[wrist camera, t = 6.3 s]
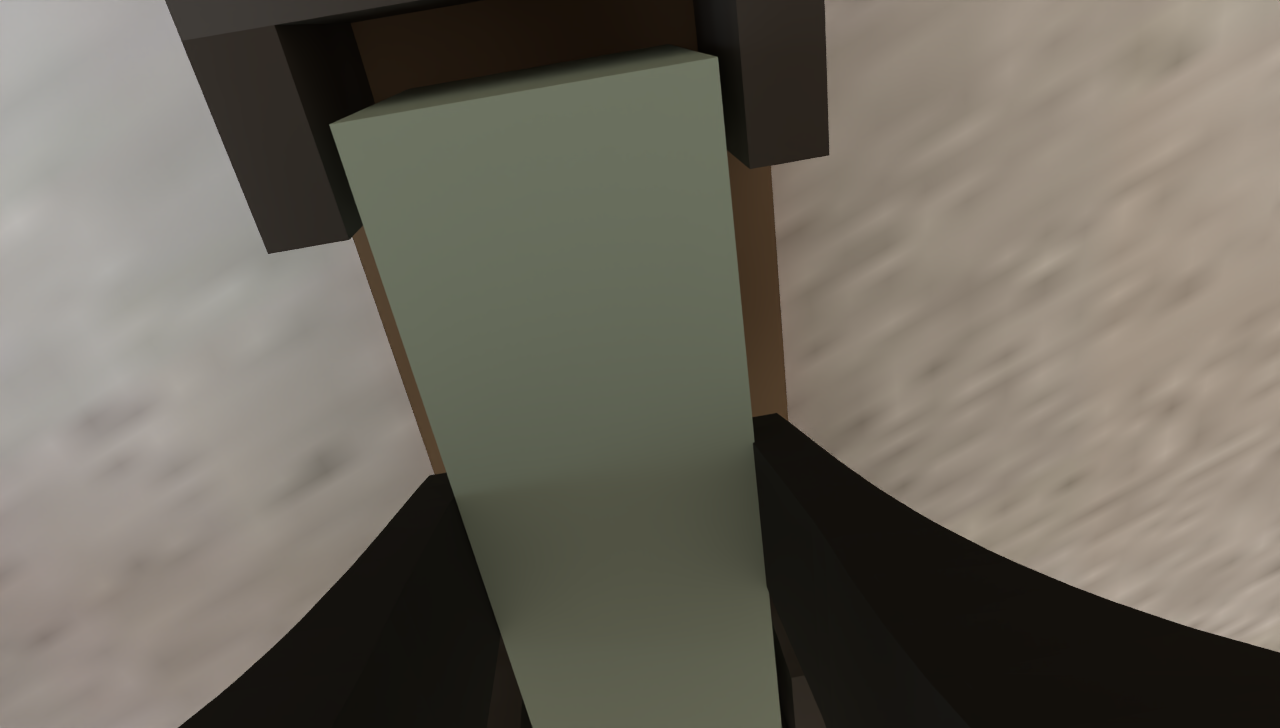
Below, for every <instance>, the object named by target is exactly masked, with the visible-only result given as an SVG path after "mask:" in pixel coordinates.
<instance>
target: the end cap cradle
mask: <svg viewBox="0 0 1280 728" xmlns="http://www.w3.org/2000/svg"><path fill="white" fill-rule="evenodd" d="M165 1H166V4H167V6H168V9H169V11H170V14H171V16H172V19H173V21H174V23H175V26H176V28H177V31H178V33H179V36H180V38H181V41H182V43H183V46H184V48H185V50H186V53H187V55H188V58H189V60H190V63H191V65H192V68H193V70H194V73H195V75H196V78H197V80H198V82H199V85H200V87H201V90H202V92H203V95H204V97H205V100H206V102H207V105H208V107H209V109H210V112H211V114H212V117H213V119H214V122H215V124H216V127H217V129H218V132H219V134H220V137H221V139H222V141H223V144H224V146H225V149H226V151H227V154H228V156H229V159H230V161H231V164H232V166H233V169H234V171H235V173H236V176H237V178H238V181H239V183H240V186H241V188H242V191H243V193H244V196H245V198H246V200H247V203H248V205H249V208H250V210H251V213H252V215H253V218H254V220H255V223H256V225H257V228H258V230H259V232H260V235H261V237H262V240H263V242H264V245H265V247H266V250H267V252H268V254H271V253H276V252H282V251H288V250H293V249H299V248H305V247H310V246H316V245H322V244H327V243H333V242H339V241H345V240H349V239H350V238H351V237H353V240H354V243H355V245H356V248H357V251H358V254H359V257H360V260H361V263H362V266H363V269H364V271H365V274H366V277H367V280H368V283H369V286H370V289H371V292H372V295H373V297H374V300H375V303H376V306H377V309H378V312H379V315H380V318H381V320H382V323H383V326H384V329H385V332H386V335H387V338H388V341H389V344H390V346H391V349H392V352H393V355H394V358H395V361H396V364H397V367H398V370H399V372H400V375H401V378H402V381H403V384H404V387H405V390H406V393H407V396H408V398H409V401H410V404H411V407H412V410H413V413H414V416H415V419H416V421H417V424H418V427H419V430H420V433H421V436H422V439H423V442H424V445H425V447H426V450H427V453H428V456H429V459H430V462H431V465H432V468H433V471H434V473H435V474H441V473H446V469H445V467H444V464H443V461H442V458H441V455H440V452H439V449H438V446H437V443H436V440H435V437H434V434H433V431H432V428H431V425H430V422H429V419H428V416H427V413H426V410H425V407H424V404H423V401H422V398H421V395H420V392H419V389H418V386H417V383H416V381H415V378H414V375H413V372H412V369H411V366H410V363H409V360H408V357H407V354H406V351H405V348H404V345H403V342H402V339H401V336H400V333H399V330H398V327H397V324H396V321H395V318H394V315H393V312H392V309H391V306H390V303H389V300H388V298H387V295H386V292H385V289H384V286H383V283H382V280H381V277H380V274H379V271H378V268H377V265H376V262H375V259H374V256H373V253H372V250H371V247H370V244H369V241H368V238H367V235H366V232H365V229H364V226H363V223H362V220H361V217H360V214H359V212H358V209H357V206H356V203H355V200H354V197H353V194H352V191H351V188H350V185H349V182H348V179H347V176H346V173H345V170H344V167H343V164H342V161H341V158H340V155H339V152H338V149H337V146H336V143H335V140H334V137H333V134H332V131H331V129H330V126H329V124H331V123H334V122H336V121H338V120H340V119H343V118H345V117H347V116H349V115H352V114H354V113H356V112H358V111H360V110H363V109H365V108H367V107H369V106H372V105H374V104H376V103H378V102H380V101H383V100H385V99H387V98H389V97H392V96H394V95H396V94H398V93H401V92H403V91H405V90H407V89H411V88H417V87H422V86H428V85H434V84H440V83H445V82H451V81H457V80H463V79H469V78H474V77H480V76H486V75H492V74H497V73H503V72H509V71H515V70H521V69H526V68H532V67H538V66H544V65H549V64H555V63H561V62H567V61H573V60H578V59H584V58H590V57H596V56H601V55H607V54H613V53H619V52H625V51H630V50H636V49H642V48H648V47H653V46H659V45H665V44H670V45H674V46H678V47H681V48H685V49H689V50H693V51H697V52H700V53H704V54H708V55H712V56H716V57H718V63H719V74H720V84H721V95H722V105H723V116H724V126H725V137H726V147H727V158H728V168H729V179H730V189H731V200H732V210H733V221H734V231H735V242H736V252H737V263H738V273H739V284H740V294H741V305H742V315H743V326H744V336H745V347H746V357H747V368H748V378H749V389H750V399H751V410H752V417H757V416H762V415H768V414H773V413H778V414H779V415H780V416H782V417H783V418H785V419H786V420H787V421H788V411H787V396H786V382H785V367H784V352H783V338H782V323H781V309H780V294H779V279H778V265H777V250H776V236H775V221H774V206H773V192H772V177H771V165H777V164H782V163H788V162H794V161H799V160H805V159H811V158H817V157H822V156H828V155H829V131H828V99H827V68H826V36H825V4H824V0H165ZM769 599H770V609H771V620H772V630H773V641H774V651H775V662H776V672H777V683H778V693H779V704H780V714H781V725H782V728H826V726H825V723H824V720H823V718H822V715H821V713H820V711H819V708H818V706H817V704H816V701H815V699H814V697H813V694H812V692H811V690H810V687H809V685H808V683H807V680H806V678H805V676H804V673H803V671H802V669H801V666H800V664H799V662H798V659H797V657H796V655H795V652H794V650H793V648H792V645H791V643H790V641H789V638H788V636H787V634H786V631H785V629H784V627H783V624H782V622H781V620H780V617H779V615H778V613H777V610H776V608H775V606H774V603H773V601H772V598H771V596H770V594H769ZM487 728H533V727H532V724H531V722H530V719H529V716H528V713H527V710H526V707H525V704H524V701H523V698H522V695H521V692H520V689H519V686H518V683H517V680H516V677H515V674H514V671H513V668H512V665H511V662H510V659H509V656H508V653H507V650H506V647H505V644H504V641H503V638H502V636H501V635H500V643H499V650H498V657H497V663H496V670H495V677H494V684H493V690H492V697H491V703H490V710H489V716H488V723H487Z"/></svg>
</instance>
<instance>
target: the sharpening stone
mask: <svg viewBox="0 0 1280 728" xmlns="http://www.w3.org/2000/svg"><path fill="white" fill-rule="evenodd" d="M329 126H330V129H331V131H332V134H333V137H334V140H335V143H336V146H337V149H338V152H339V155H340V158H341V161H342V164H343V167H344V170H345V173H346V176H347V179H348V182H349V185H350V188H351V191H352V194H353V197H354V200H355V203H356V206H357V209H358V212H359V214H360V217H361V220H362V223H363V226H364V229H365V232H366V235H367V238H368V241H369V244H370V247H371V250H372V253H373V256H374V259H375V262H376V265H377V268H378V271H379V274H380V277H381V280H382V283H383V286H384V289H385V292H386V295H387V298H388V300H389V303H390V306H391V309H392V312H393V315H394V318H395V321H396V324H397V327H398V330H399V333H400V336H401V339H402V342H403V345H404V348H405V351H406V354H407V357H408V360H409V363H410V366H411V369H412V372H413V375H414V378H415V381H416V383H417V386H418V389H419V392H420V395H421V398H422V401H423V404H424V407H425V410H426V413H427V416H428V419H429V422H430V425H431V428H432V431H433V434H434V437H435V440H436V443H437V446H438V449H439V452H440V455H441V458H442V461H443V464H444V467H445V469H446V472H447V475H448V478H449V481H450V484H451V487H452V490H453V493H454V496H455V499H456V502H457V505H458V508H459V511H460V514H461V517H462V520H463V523H464V526H465V529H466V532H467V535H468V538H469V541H470V544H471V547H472V550H473V553H474V555H475V558H476V561H477V564H478V567H479V570H480V573H481V576H482V579H483V582H484V585H485V588H486V591H487V594H488V597H489V600H490V603H491V606H492V609H493V612H494V615H495V618H496V621H497V624H498V627H499V630H500V633H501V636H502V638H503V641H504V644H505V647H506V650H507V653H508V656H509V659H510V662H511V665H512V668H513V671H514V674H515V677H516V680H517V683H518V686H519V689H520V692H521V695H522V698H523V701H524V704H525V707H526V710H527V713H528V716H529V719H530V722H531V724H532V727H533V728H782V725H781V714H780V704H779V693H778V683H777V672H776V662H775V651H774V641H773V630H772V620H771V609H770V599H769V591H768V589H767V586H766V575H765V565H764V555H763V544H762V534H761V524H760V513H759V503H758V493H757V482H756V472H755V462H754V451H753V443H754V442H755V441H754V431H753V420H752V410H751V399H750V389H749V378H748V368H747V357H746V347H745V336H744V326H743V315H742V305H741V294H740V284H739V273H738V263H737V252H736V242H735V231H734V221H733V210H732V200H731V189H730V179H729V168H728V158H727V147H726V137H725V126H724V116H723V105H722V95H721V84H720V74H719V63H718V57H716V56H712V55H708V54H704V53H700V52H697V51H693V50H689V49H685V48H681V47H678V46H674V45H670V44H665V45H659V46H653V47H648V48H642V49H636V50H630V51H625V52H619V53H613V54H607V55H601V56H596V57H590V58H584V59H578V60H573V61H567V62H561V63H555V64H549V65H544V66H538V67H532V68H526V69H521V70H515V71H509V72H503V73H497V74H492V75H486V76H480V77H474V78H469V79H463V80H457V81H451V82H445V83H440V84H434V85H428V86H422V87H417V88H411V89H407V90H405V91H403V92H401V93H398V94H396V95H394V96H392V97H389V98H387V99H385V100H383V101H380V102H378V103H376V104H374V105H372V106H369V107H367V108H365V109H363V110H360V111H358V112H356V113H354V114H352V115H349V116H347V117H345V118H343V119H340V120H338V121H336V122H334V123H331V124H329Z"/></svg>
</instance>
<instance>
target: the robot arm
mask: <svg viewBox="0 0 1280 728" xmlns="http://www.w3.org/2000/svg"><path fill="white" fill-rule="evenodd" d="M752 420H753V431H754V441H755V442H754V443H753V451H754V462H755V472H756V482H757V493H758V503H759V513H760V524H761V534H762V544H763V555H764V565H765V575H766V586H767V589H768V591H769V594H770V596H771V598H772V601H773V603H774V606H775V608H776V610H777V613H778V615H779V617H780V620H781V622H782V624H783V627H784V629H785V631H786V634H787V636H788V638H789V641H790V643H791V645H792V648H793V650H794V652H795V655H796V657H797V659H798V662H799V664H800V666H801V669H802V671H803V673H804V676H805V678H806V680H807V683H808V685H809V687H810V690H811V692H812V694H813V697H814V699H815V701H816V704H817V706H818V708H819V711H820V713H821V715H822V718H823V720H824V723H825V726H826V728H1280V653H1279V652H1276V651H1272V650H1268V649H1265V648H1261V647H1258V646H1254V645H1251V644H1247V643H1243V642H1240V641H1236V640H1233V639H1229V638H1226V637H1222V636H1218V635H1215V634H1211V633H1208V632H1204V631H1201V630H1197V629H1194V628H1191V627H1187V626H1184V625H1181V624H1178V623H1175V622H1172V621H1169V620H1166V619H1163V618H1160V617H1157V616H1154V615H1151V614H1148V613H1145V612H1142V611H1139V610H1136V609H1133V608H1131V607H1128V606H1125V605H1122V604H1119V603H1116V602H1113V601H1110V600H1108V599H1105V598H1102V597H1100V596H1097V595H1094V594H1092V593H1089V592H1086V591H1084V590H1081V589H1078V588H1076V587H1073V586H1070V585H1068V584H1066V583H1063V582H1061V581H1058V580H1056V579H1054V578H1051V577H1049V576H1046V575H1044V574H1042V573H1039V572H1037V571H1035V570H1032V569H1030V568H1027V567H1025V566H1023V565H1020V564H1018V563H1016V562H1013V561H1011V560H1009V559H1007V558H1005V557H1002V556H1000V555H998V554H996V553H994V552H992V551H989V550H987V549H985V548H983V547H981V546H979V545H978V544H976V543H974V542H972V541H970V540H968V539H966V538H964V537H962V536H960V535H958V534H956V533H954V532H952V531H950V530H948V529H946V528H944V527H942V526H940V525H939V524H937V523H935V522H933V521H931V520H930V519H928V518H926V517H924V516H923V515H921V514H919V513H917V512H916V511H914V510H913V509H911V508H909V507H908V506H906V505H904V504H903V503H901V502H899V501H898V500H896V499H895V498H893V497H891V496H890V495H888V494H886V493H885V492H883V491H882V490H880V489H879V488H877V487H876V486H874V485H873V484H871V483H870V482H868V481H867V480H866V479H864V478H863V477H861V476H860V475H858V474H857V473H856V472H854V471H853V470H851V469H850V468H849V467H847V466H846V465H844V464H843V463H842V462H840V461H839V460H837V459H836V458H835V457H833V456H832V455H831V454H829V453H828V452H827V451H826V450H824V449H823V448H822V447H820V446H819V445H818V444H816V443H815V442H814V441H813V440H811V439H810V438H809V437H807V436H806V435H805V434H804V433H802V432H801V431H800V430H799V429H797V428H796V427H795V426H794V425H792V424H791V423H790V422H788V421H787V420H786V419H785V418H783V417H782V416H780V415H779V414H778V413H773V414H768V415H762V416H757V417H752ZM500 635H501V633H500V630H499V627H498V624H497V621H496V618H495V615H494V612H493V609H492V606H491V603H490V600H489V597H488V594H487V591H486V588H485V585H484V582H483V579H482V576H481V573H480V570H479V567H478V564H477V561H476V558H475V555H474V553H473V550H472V547H471V544H470V541H469V538H468V535H467V532H466V529H465V526H464V523H463V520H462V517H461V514H460V511H459V508H458V505H457V502H456V499H455V496H454V493H453V490H452V487H451V484H450V481H449V478H448V475H447V472H446V473H441V474H435V475H430V476H429V477H428V478H427V479H426V480H425V481H424V482H423V483H422V484H421V485H420V487H419V488H418V489H417V490H416V491H415V492H414V494H413V495H412V496H411V497H410V498H409V500H408V501H407V502H406V503H405V504H404V506H403V507H402V508H401V509H400V510H399V512H398V513H397V514H396V515H395V516H394V517H393V519H392V520H391V521H390V522H389V523H388V525H387V526H386V527H385V528H384V529H383V531H382V532H381V533H380V534H379V535H378V536H377V537H376V539H375V540H374V541H373V542H372V543H371V544H370V546H369V547H368V548H367V549H366V550H365V551H364V553H363V554H362V555H361V556H360V557H359V558H358V560H357V561H356V562H355V563H354V564H353V565H352V566H351V568H350V569H349V570H348V571H347V572H346V573H345V574H344V575H343V576H342V577H341V578H340V579H339V580H338V581H337V582H336V583H335V585H334V586H333V587H332V588H331V589H330V590H329V591H328V592H327V593H326V594H325V595H324V596H323V597H322V598H321V599H320V600H319V601H318V603H317V604H316V605H315V606H314V607H313V608H312V609H311V610H310V611H309V612H308V613H307V614H306V615H305V616H304V617H303V618H302V619H301V620H300V621H299V622H298V623H297V624H296V625H295V626H294V627H293V628H292V629H291V630H290V631H289V632H288V633H287V634H286V635H285V636H284V637H283V638H282V639H281V640H280V641H279V642H278V643H277V644H276V645H275V646H274V647H273V648H271V649H270V650H269V651H268V652H267V653H266V654H265V655H264V656H263V657H262V658H260V659H259V660H258V661H257V662H256V663H255V664H254V665H253V666H252V667H250V668H249V669H248V670H247V671H246V672H245V673H244V674H243V675H242V676H240V677H239V678H238V679H237V680H236V681H235V682H234V683H233V684H231V685H230V686H229V687H228V688H227V689H226V690H224V691H223V692H222V693H221V694H220V695H218V696H217V697H216V698H215V699H213V700H212V701H211V702H210V703H208V704H207V705H206V706H205V707H203V708H202V709H201V710H200V711H198V712H197V713H196V714H195V715H193V716H192V717H191V718H190V719H188V720H187V721H186V722H185V723H183V724H182V725H181V726H180V727H178V728H487V723H488V716H489V710H490V703H491V697H492V690H493V684H494V677H495V670H496V663H497V657H498V650H499V643H500Z"/></svg>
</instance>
